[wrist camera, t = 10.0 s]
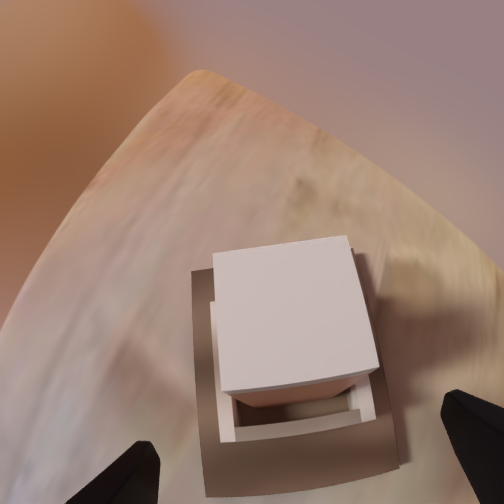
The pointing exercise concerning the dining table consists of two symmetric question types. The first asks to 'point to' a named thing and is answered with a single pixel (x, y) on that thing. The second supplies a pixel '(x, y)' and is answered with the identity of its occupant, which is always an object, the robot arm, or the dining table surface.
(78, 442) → the dining table surface
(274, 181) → the dining table surface
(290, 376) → the tan box white top
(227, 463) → the square socket base
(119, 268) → the dining table surface
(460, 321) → the dining table surface
